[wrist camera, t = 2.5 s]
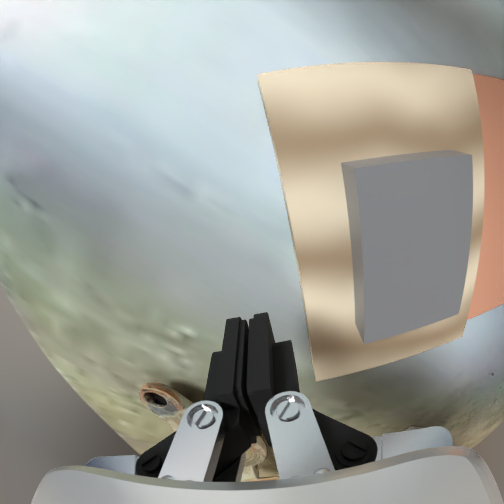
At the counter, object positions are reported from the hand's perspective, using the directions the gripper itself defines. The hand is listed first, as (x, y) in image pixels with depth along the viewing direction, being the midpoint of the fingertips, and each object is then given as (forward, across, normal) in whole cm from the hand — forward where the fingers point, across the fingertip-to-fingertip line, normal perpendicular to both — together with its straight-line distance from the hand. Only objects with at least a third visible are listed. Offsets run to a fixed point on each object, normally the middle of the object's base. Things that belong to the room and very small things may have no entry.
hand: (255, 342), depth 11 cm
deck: (+7, -9, -1) cm, 11 cm away
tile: (+4, -9, -1) cm, 10 cm away
